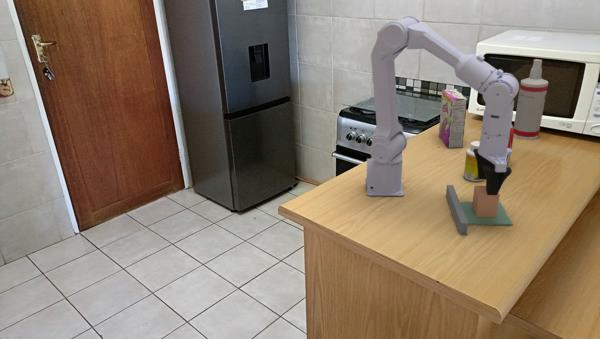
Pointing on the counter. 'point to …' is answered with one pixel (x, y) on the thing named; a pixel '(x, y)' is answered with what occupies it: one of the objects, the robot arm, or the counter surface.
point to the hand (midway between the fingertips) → (487, 186)
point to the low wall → (457, 210)
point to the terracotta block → (484, 202)
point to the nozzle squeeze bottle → (530, 104)
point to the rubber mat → (498, 220)
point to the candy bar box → (452, 118)
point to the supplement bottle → (471, 163)
